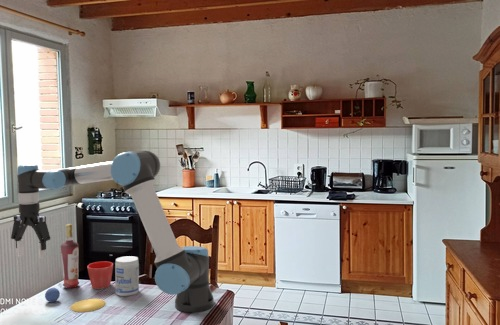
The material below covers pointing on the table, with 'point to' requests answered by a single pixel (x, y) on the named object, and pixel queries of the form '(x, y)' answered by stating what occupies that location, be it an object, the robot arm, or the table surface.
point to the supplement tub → (127, 275)
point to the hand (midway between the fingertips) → (31, 256)
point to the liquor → (70, 260)
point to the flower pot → (100, 274)
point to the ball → (52, 294)
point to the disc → (88, 305)
